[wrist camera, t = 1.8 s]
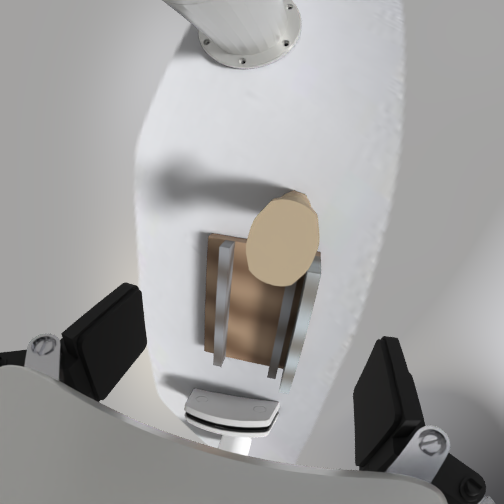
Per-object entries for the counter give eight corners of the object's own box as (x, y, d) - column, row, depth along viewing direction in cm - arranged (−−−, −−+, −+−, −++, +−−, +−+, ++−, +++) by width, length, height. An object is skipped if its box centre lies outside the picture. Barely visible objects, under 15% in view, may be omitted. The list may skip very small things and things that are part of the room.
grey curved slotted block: (196, 403, 51) (176, 428, 41) (196, 384, 51) (174, 408, 41) (279, 417, 48) (271, 448, 38) (281, 397, 48) (274, 427, 38)
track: (212, 233, 37) (192, 250, 31) (320, 252, 35) (321, 274, 29) (207, 345, 44) (193, 371, 38) (293, 363, 42) (288, 393, 36)
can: (218, 435, 55) (202, 477, 44) (230, 425, 52) (214, 470, 41) (243, 446, 55) (230, 488, 44) (257, 437, 52) (244, 482, 41)
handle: (268, 221, 35) (237, 272, 21) (284, 171, 32) (262, 190, 19) (305, 234, 35) (298, 294, 21) (323, 185, 32) (331, 214, 18)
